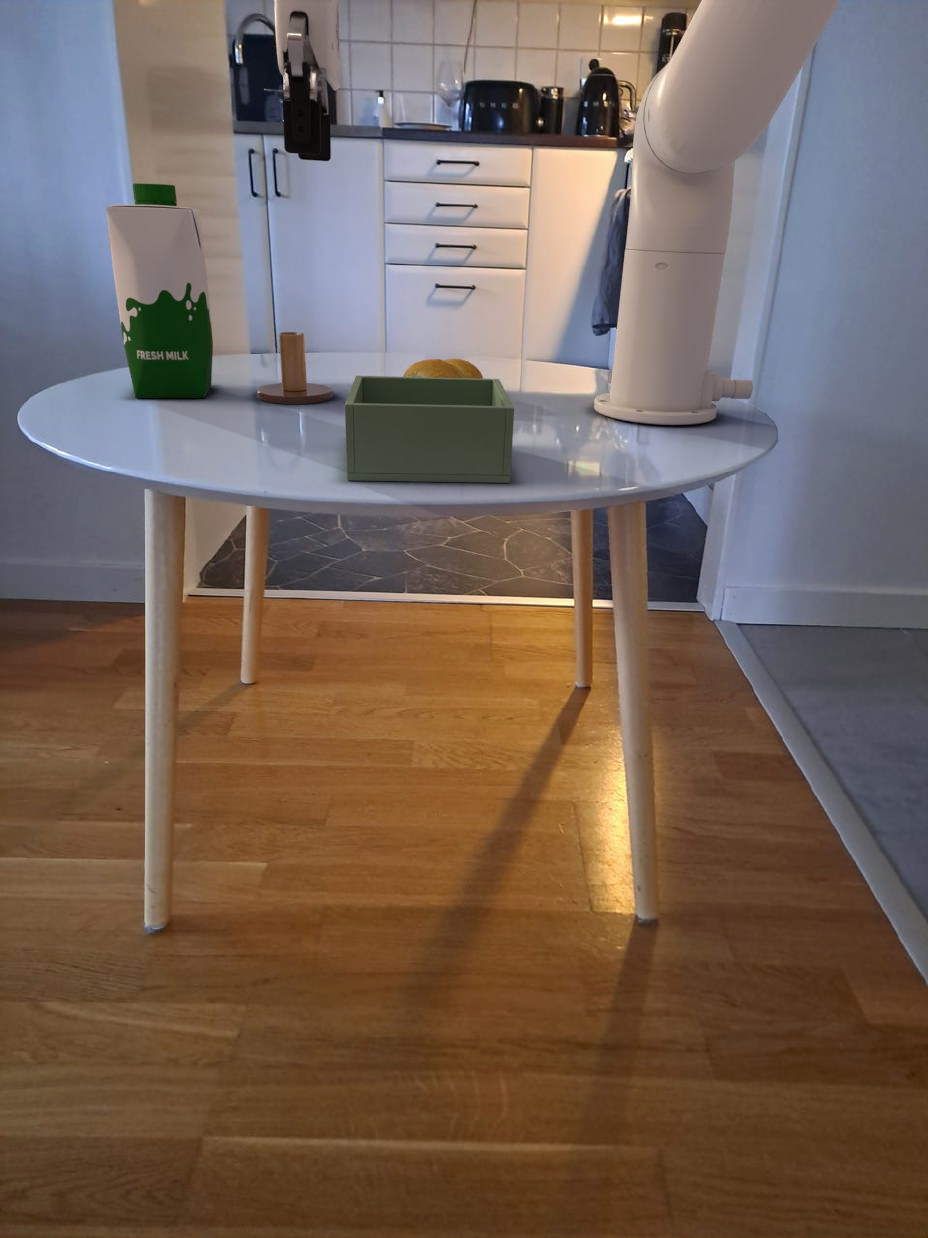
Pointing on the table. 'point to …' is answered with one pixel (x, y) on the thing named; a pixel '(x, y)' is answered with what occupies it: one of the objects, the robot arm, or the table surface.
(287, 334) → the wooden peg stand
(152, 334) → the milk carton
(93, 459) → the table surface
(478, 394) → the tub
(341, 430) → the table surface
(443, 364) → the bread roll
